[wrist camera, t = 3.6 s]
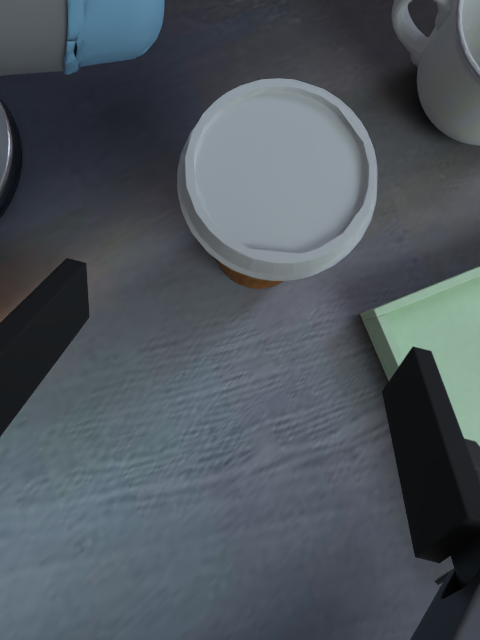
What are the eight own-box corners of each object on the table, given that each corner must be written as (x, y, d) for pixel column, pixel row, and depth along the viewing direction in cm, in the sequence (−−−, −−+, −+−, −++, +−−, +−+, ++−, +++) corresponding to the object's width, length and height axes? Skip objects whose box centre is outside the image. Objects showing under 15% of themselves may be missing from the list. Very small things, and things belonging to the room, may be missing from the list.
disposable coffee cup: (168, 262, 28) (129, 191, 16) (242, 163, 29) (255, 29, 17) (274, 335, 28) (311, 318, 16) (344, 233, 29) (428, 146, 17)
